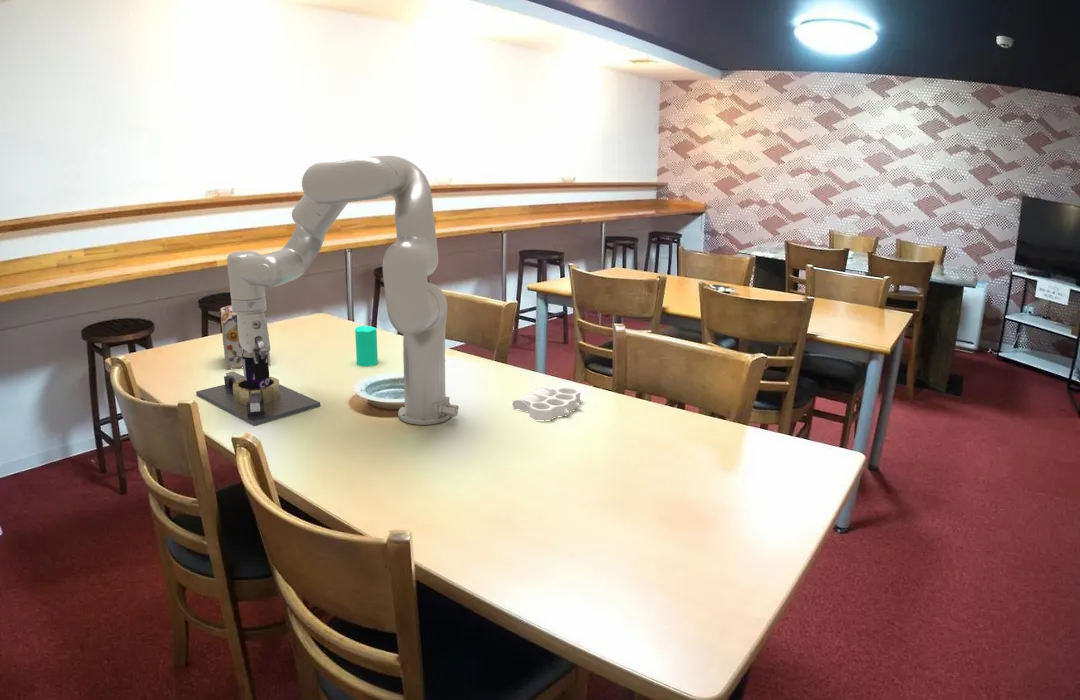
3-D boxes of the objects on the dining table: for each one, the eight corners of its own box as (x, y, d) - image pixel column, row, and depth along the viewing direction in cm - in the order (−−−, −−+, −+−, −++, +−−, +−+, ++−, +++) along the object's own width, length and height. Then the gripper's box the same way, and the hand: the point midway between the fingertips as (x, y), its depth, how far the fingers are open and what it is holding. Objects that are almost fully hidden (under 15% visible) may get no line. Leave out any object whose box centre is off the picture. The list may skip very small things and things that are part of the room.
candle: (354, 361, 204) (352, 321, 200) (375, 359, 206) (374, 319, 203) (358, 367, 199) (356, 326, 195) (380, 365, 201) (378, 324, 198)
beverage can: (253, 402, 168) (249, 354, 164) (241, 396, 171) (237, 349, 168) (275, 396, 172) (271, 350, 169) (263, 391, 175) (259, 345, 172)
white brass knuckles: (543, 393, 184) (593, 405, 177) (504, 414, 169) (556, 428, 162) (544, 381, 183) (593, 392, 176) (504, 401, 168) (557, 414, 161)
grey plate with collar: (320, 406, 170) (319, 388, 168) (254, 425, 157) (252, 407, 156) (260, 379, 187) (259, 363, 185) (196, 395, 174) (194, 378, 173)
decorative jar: (224, 358, 203) (218, 297, 198) (267, 354, 208) (262, 295, 203) (225, 370, 193) (219, 306, 188) (270, 366, 198) (265, 303, 193)
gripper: (276, 309, 161) (283, 380, 165) (255, 296, 174) (261, 361, 179) (242, 313, 156) (250, 386, 161) (222, 299, 169) (230, 366, 174)
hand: (256, 373), depth 170 cm, fingers open, 9 cm apart
